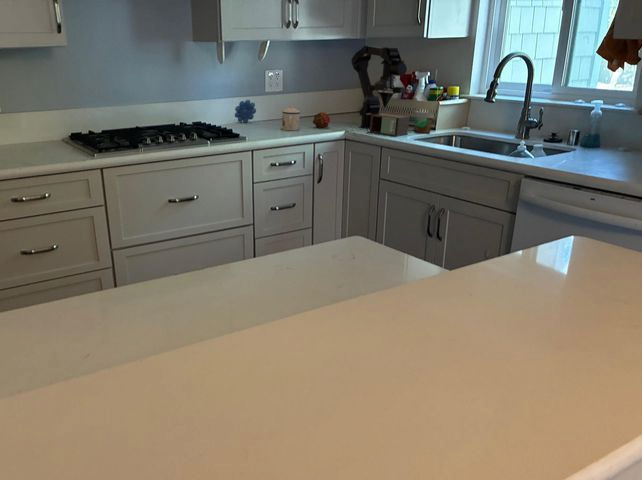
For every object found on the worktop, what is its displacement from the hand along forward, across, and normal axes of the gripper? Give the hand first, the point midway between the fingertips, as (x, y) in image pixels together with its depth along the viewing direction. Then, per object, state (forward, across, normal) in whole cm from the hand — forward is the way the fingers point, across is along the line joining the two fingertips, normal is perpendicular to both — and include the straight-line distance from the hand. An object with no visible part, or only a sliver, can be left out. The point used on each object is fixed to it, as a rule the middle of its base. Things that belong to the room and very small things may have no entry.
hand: (384, 106), depth 313 cm
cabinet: (+12, +7, -6) cm, 15 cm away
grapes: (+12, -64, -37) cm, 74 cm away
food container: (+12, +15, +11) cm, 22 cm away
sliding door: (+11, +10, -12) cm, 19 cm away
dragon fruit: (+12, -27, -17) cm, 34 cm away
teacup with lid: (+12, -31, -37) cm, 50 cm away
